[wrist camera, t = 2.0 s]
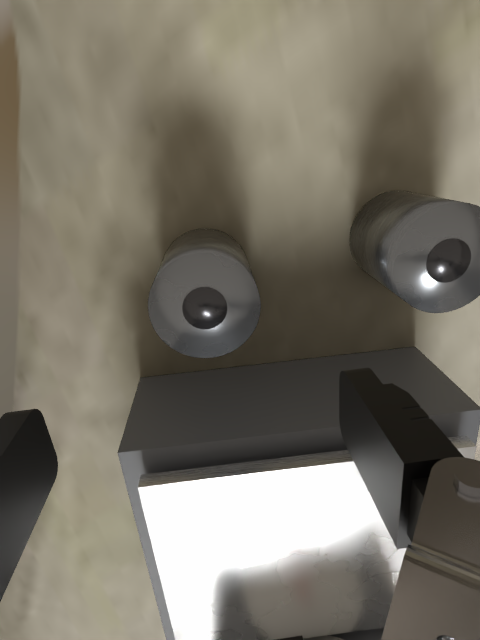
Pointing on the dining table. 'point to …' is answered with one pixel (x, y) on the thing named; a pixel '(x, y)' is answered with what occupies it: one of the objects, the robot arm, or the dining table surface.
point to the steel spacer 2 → (420, 248)
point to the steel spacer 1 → (204, 295)
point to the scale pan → (272, 548)
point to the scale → (266, 423)
